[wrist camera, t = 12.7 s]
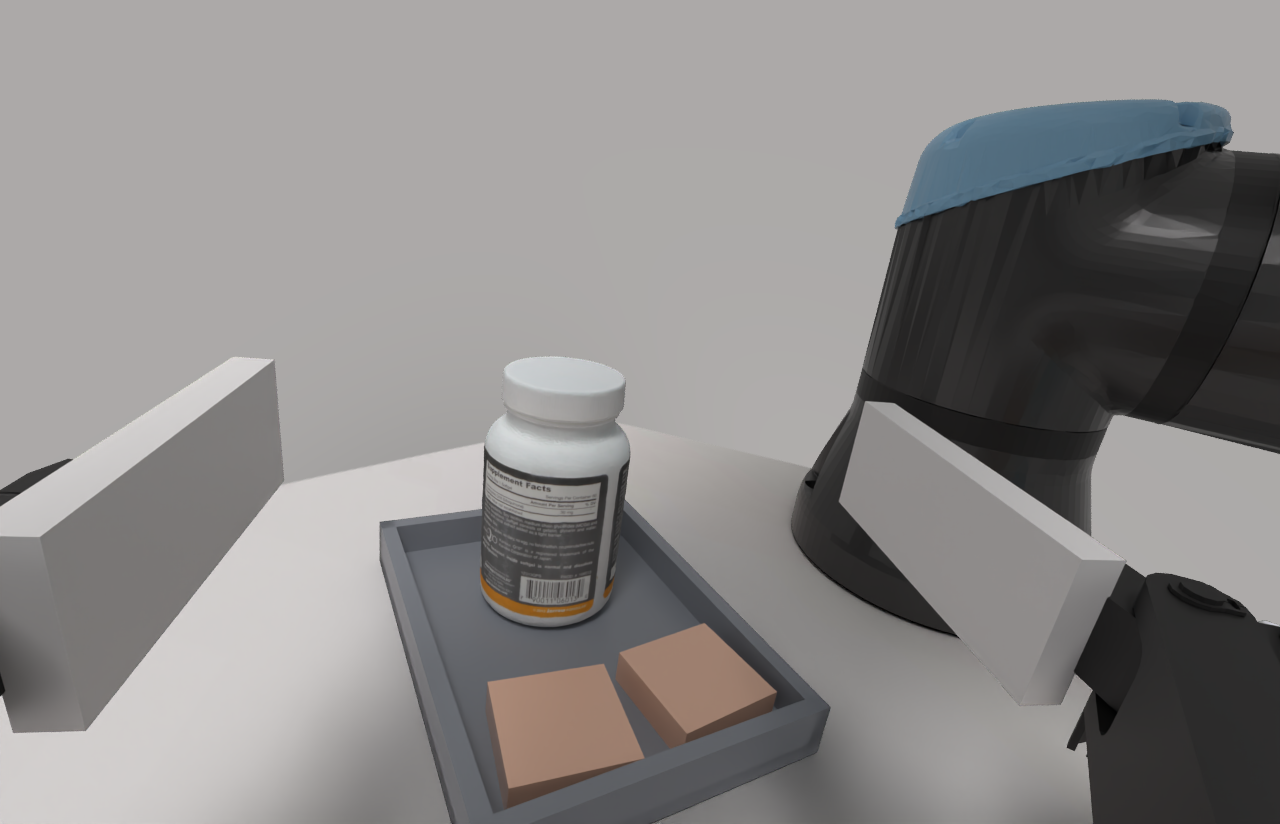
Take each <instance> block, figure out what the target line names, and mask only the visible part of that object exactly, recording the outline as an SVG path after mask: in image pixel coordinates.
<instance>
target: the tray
mask: <svg viewBox="0 0 1280 824" xmlns="http://www.w3.org/2000/svg"><path fill="white" fill-rule="evenodd" d="M481 526H482V509H479V510H471V511H463V512H455V513H448V514H440V515H432V516H424V517H416V518H408V519H400V520H392V521H384V522H380V563H381V567H382V571H383V574H384V578H385V582H386V585H387V589H388V593H389V596H390V600H391V604H392V607H393V611H394V615H395V618H396V622H397V626H398V629H399V633H400V637H401V640H402V644H403V647H404V651H405V655H406V658H407V662H408V666H409V669H410V673H411V677H412V680H413V684H414V688H415V691H416V695H417V699H418V702H419V706H420V710H421V713H422V717H423V721H424V724H425V728H426V732H427V735H428V739H429V743H430V746H431V750H432V754H433V757H434V761H435V765H436V768H437V772H438V776H439V779H440V783H441V786H442V790H443V794H444V797H445V801H446V805H447V808H448V812H449V816H450V819H451V823H452V824H651V823H653V822H655V821H658V820H660V819H662V818H665V817H667V816H669V815H672V814H674V813H676V812H679V811H681V810H683V809H686V808H688V807H690V806H693V805H695V804H697V803H700V802H702V801H704V800H707V799H709V798H711V797H714V796H716V795H718V794H721V793H723V792H725V791H728V790H730V789H732V788H735V787H737V786H739V785H742V784H744V783H746V782H749V781H751V780H753V779H756V778H758V777H760V776H763V775H765V774H767V773H770V772H772V771H774V770H777V769H779V768H781V767H784V766H786V765H788V764H791V763H793V762H795V761H798V760H800V759H802V758H805V757H807V756H809V755H812V754H814V753H816V752H817V751H818V748H819V744H820V741H821V738H822V734H823V731H824V728H825V724H826V721H827V717H828V714H829V711H830V706H829V705H828V704H827V703H826V702H825V701H824V700H823V699H822V698H821V697H820V696H819V695H818V694H817V693H816V692H815V691H814V690H813V689H812V688H811V687H810V686H809V685H808V684H807V683H806V682H805V681H804V680H803V679H802V678H801V677H800V676H799V675H798V674H797V673H796V672H795V671H794V670H793V669H792V668H791V667H790V666H789V665H788V664H787V663H786V662H785V661H784V660H783V659H782V658H781V657H780V656H779V655H778V654H777V653H776V652H775V651H774V650H773V649H772V648H771V647H770V646H769V645H768V644H767V643H766V642H765V640H764V639H763V638H762V637H761V636H760V635H759V634H758V633H757V632H756V631H755V630H754V629H753V628H752V627H751V626H750V625H749V624H748V623H747V622H746V621H745V620H744V619H743V618H742V617H741V616H740V615H739V614H738V613H737V612H736V611H735V610H734V609H733V608H732V607H731V606H730V605H729V604H728V603H727V602H726V601H725V600H724V599H723V598H722V597H721V596H720V595H719V594H718V593H717V592H716V591H715V590H714V589H713V588H712V587H711V586H710V585H709V584H708V583H707V582H706V581H705V580H704V579H703V578H702V577H701V576H700V575H699V574H698V573H697V572H696V571H695V570H694V569H693V568H692V567H691V566H690V565H689V564H688V563H687V562H686V561H685V560H684V559H683V558H682V557H681V556H680V555H679V554H678V553H677V552H676V551H675V550H674V549H673V548H672V547H671V546H670V545H669V544H668V543H667V542H666V541H665V540H664V539H663V538H662V537H661V535H660V534H659V533H658V532H657V531H656V530H655V529H654V528H653V527H652V526H651V525H650V524H649V523H648V522H647V521H646V520H645V519H644V518H643V517H642V516H641V515H640V514H639V513H638V512H637V511H636V510H635V509H634V508H633V507H632V506H631V505H630V504H629V503H628V502H627V501H626V500H624V507H623V515H622V523H621V531H620V538H619V546H618V554H617V561H616V571H615V576H614V582H613V588H612V592H611V595H610V597H609V600H608V601H607V602H606V603H605V605H604V606H603V607H602V609H601V610H599V611H598V612H597V613H595V614H594V615H592V616H591V617H589V618H587V619H585V620H583V621H580V622H577V623H573V624H569V625H565V626H558V627H538V626H530V625H525V624H522V623H518V622H515V621H513V620H510V619H508V618H506V617H504V616H502V615H501V614H499V613H498V612H497V611H495V610H494V609H493V608H492V607H491V606H490V604H489V603H488V602H487V601H486V599H485V598H484V596H483V594H482V591H481V585H480V557H481ZM703 623H705V624H706V625H707V626H708V627H709V628H710V629H712V630H713V631H714V632H715V633H716V634H717V635H718V636H719V637H720V638H721V639H722V640H723V641H724V642H725V643H726V644H727V645H728V646H729V647H730V648H731V649H733V650H734V651H735V652H736V653H737V654H738V655H739V656H740V657H741V658H742V659H743V660H744V661H745V662H746V663H747V664H748V665H749V666H750V667H751V668H752V669H754V670H755V671H756V672H757V673H758V674H759V675H760V676H761V677H762V678H763V679H764V680H765V681H766V682H767V683H768V684H769V685H770V686H771V687H772V688H774V689H775V690H776V691H777V694H776V698H775V702H774V706H773V709H772V712H769V713H767V714H764V715H761V716H758V717H756V718H753V719H750V720H748V721H745V722H742V723H739V724H737V725H734V726H731V727H728V728H726V729H723V730H720V731H718V732H715V733H712V734H709V735H707V736H704V737H701V738H699V739H696V740H693V741H690V742H688V743H685V744H682V745H680V746H677V747H674V748H671V749H670V748H669V747H668V746H667V744H666V743H665V742H664V741H663V739H662V738H661V737H660V735H659V734H658V733H657V732H656V730H655V729H654V728H653V727H652V725H651V724H650V723H649V721H648V720H647V719H646V718H645V716H644V715H643V714H642V713H641V711H640V710H639V709H638V707H637V706H636V705H635V704H634V702H633V701H632V700H631V699H630V697H629V696H628V695H627V693H626V692H625V691H624V690H623V688H622V687H621V686H620V684H619V683H618V682H617V681H616V679H615V678H616V671H617V665H618V658H619V652H622V651H625V650H628V649H631V648H634V647H637V646H640V645H642V644H645V643H648V642H651V641H654V640H657V639H660V638H663V637H666V636H668V635H671V634H674V633H677V632H680V631H683V630H686V629H689V628H691V627H694V626H697V625H700V624H703ZM599 664H604V665H605V668H606V670H607V672H608V675H609V677H610V679H611V681H612V684H613V686H614V688H615V691H616V693H617V695H618V698H619V700H620V702H621V704H622V707H623V709H624V711H625V714H626V716H627V718H628V721H629V723H630V725H631V728H632V730H633V732H634V734H635V737H636V739H637V741H638V744H639V746H640V748H641V751H642V753H643V755H644V759H641V760H639V761H636V762H633V763H631V764H628V765H625V766H622V767H620V768H617V769H614V770H612V771H609V772H606V773H603V774H601V775H598V776H595V777H592V778H590V779H587V780H584V781H582V782H579V783H576V784H573V785H571V786H568V787H565V788H563V789H560V790H557V791H554V792H552V793H549V794H546V795H544V796H541V797H538V798H535V799H533V800H530V801H527V802H524V803H522V804H519V805H516V806H514V807H511V808H508V809H505V810H504V808H503V803H502V797H501V792H500V787H499V781H498V776H497V770H496V765H495V760H494V754H493V749H492V743H491V738H490V733H489V727H488V722H487V717H486V711H485V710H486V695H487V682H490V681H497V680H503V679H509V678H516V677H522V676H529V675H535V674H541V673H548V672H554V671H560V670H567V669H573V668H580V667H586V666H592V665H599Z"/></svg>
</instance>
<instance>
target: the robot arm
mask: <svg viewBox="0 0 1280 824" xmlns="http://www.w3.org/2000/svg"><path fill="white" fill-rule="evenodd" d="M1230 122H1231V116H1230V115H1229V112H1228V111H1227V110H1226V109H1224V108H1222V107H1220V106H1217V105H1213V104H1209V103H1203V102H1181V103H1174V102H1173V101H1168V100H1113V101H1112V100H1111V101H1095V102H1080V103H1079V102H1078V103H1067V104H1057V105H1047V106H1038V107H1030V108H1022V109H1016V110H1010V111H1004V112H998V113H994V114H989V115H985V116H980V117H976V118H973V119H969V120H966V121H963V122H961V123H958V124H955V125H954V126H952V127H949V128H948V129H946V130H944V131H943V132H942V133H940V134H939V135H938V136H936V137H935V138H934V139H933V140H932V141H931V142H930V143H929V144H928V146H927V147H926V148H925V150H924V151H923V153H922V155H921V157H920V160H919V162H918V165H917V168H916V172H915V175H914V178H913V181H912V184H911V187H910V190H909V193H908V196H907V199H906V203H905V205H904V209H903V212H902V215H900V216H899V217H898V218H897V220H896V223H895V229H898V231H897V235H896V238H895V242H894V246H893V250H892V254H891V258H890V262H889V266H888V270H887V274H886V278H885V282H884V286H883V289H882V293H881V297H880V301H879V305H878V309H877V313H876V317H875V321H874V325H873V329H872V333H871V337H870V341H869V344H868V348H867V353H866V356H865V360H864V364H863V368H862V372H861V376H860V380H859V383H858V387H857V391H856V394H855V398H854V401H853V403H852V406H851V408H850V409H849V411H848V412H847V414H846V415H845V417H844V418H843V420H842V421H841V423H840V425H839V426H838V427H837V429H836V430H835V432H834V434H833V435H832V437H831V438H830V440H829V441H828V443H827V444H826V446H825V447H824V449H823V450H822V452H821V454H820V455H819V457H818V458H817V460H816V462H815V464H814V466H813V467H812V469H811V470H810V471H809V472H808V473H807V475H806V476H805V478H804V479H803V481H802V483H801V485H800V488H799V491H798V495H797V499H796V503H795V507H794V511H793V515H792V521H791V522H792V530H793V533H794V536H795V538H796V540H797V542H798V544H799V545H800V547H801V548H802V550H803V551H804V552H805V553H806V555H807V556H808V557H809V558H810V559H811V560H812V561H813V562H814V563H815V564H816V565H817V566H818V567H819V568H820V569H821V570H823V571H824V572H825V573H826V574H827V575H829V576H830V577H831V578H833V579H834V580H835V581H837V582H838V583H840V584H841V585H843V586H844V587H845V588H847V589H849V590H850V591H852V592H853V593H855V594H857V595H859V596H860V597H862V598H864V599H866V600H867V601H869V602H871V603H873V604H875V605H877V606H879V607H881V608H883V609H885V610H888V611H890V612H892V613H894V614H897V615H899V616H901V617H904V618H906V619H909V620H912V621H914V622H917V623H920V624H923V625H925V626H928V627H932V628H935V629H938V630H941V631H945V632H949V633H952V634H957V636H958V637H959V638H960V639H961V640H962V641H963V642H964V644H965V645H966V646H967V647H968V648H969V649H970V650H971V651H972V653H973V654H974V655H975V656H976V657H977V658H978V659H979V660H980V662H981V663H982V664H983V665H984V666H985V667H986V668H987V669H988V671H989V672H990V673H991V674H992V675H993V676H994V677H995V678H996V680H997V681H998V682H999V683H1000V684H1001V685H1002V686H1003V688H1004V689H1005V690H1006V691H1007V692H1008V693H1009V694H1010V695H1011V697H1012V698H1013V699H1014V700H1015V701H1016V702H1017V703H1018V704H1019V706H1027V705H1061V703H1062V701H1063V699H1064V696H1065V694H1066V692H1067V690H1068V688H1069V685H1070V683H1071V681H1072V679H1073V677H1074V674H1075V673H1076V674H1077V675H1078V676H1079V677H1080V678H1081V679H1082V680H1083V681H1084V682H1085V683H1086V684H1087V685H1088V686H1089V687H1090V688H1091V689H1092V690H1093V691H1092V693H1091V695H1090V697H1089V699H1088V701H1087V703H1086V706H1085V708H1084V710H1083V712H1082V714H1081V716H1080V718H1079V720H1078V722H1077V725H1076V727H1075V729H1074V731H1073V733H1072V735H1071V737H1070V739H1069V742H1068V745H1067V748H1069V749H1071V750H1073V751H1075V749H1076V747H1077V745H1078V743H1082V742H1086V743H1087V755H1086V757H1088V767H1089V779H1090V791H1091V803H1092V815H1093V824H1280V627H1279V626H1274V625H1269V624H1265V623H1260V622H1257V621H1256V619H1255V617H1254V616H1253V615H1252V614H1251V613H1250V612H1249V611H1248V609H1247V608H1246V607H1244V606H1243V605H1242V604H1241V603H1240V602H1239V601H1237V600H1235V599H1233V598H1231V597H1230V596H1228V595H1226V594H1224V593H1222V592H1220V591H1219V590H1217V589H1216V588H1214V587H1212V586H1210V585H1207V584H1205V583H1203V582H1200V581H1196V580H1192V579H1188V578H1185V577H1180V576H1177V575H1173V574H1164V573H1154V574H1150V575H1147V577H1144V576H1143V575H1141V574H1139V573H1138V572H1137V571H1135V570H1134V569H1132V568H1131V567H1130V566H1128V565H1127V564H1125V563H1126V560H1125V559H1123V558H1122V557H1120V556H1119V555H1117V554H1116V553H1114V552H1113V551H1111V550H1110V549H1109V548H1107V547H1105V546H1104V545H1103V544H1101V543H1100V542H1098V541H1097V540H1095V539H1094V538H1092V537H1091V471H1092V466H1093V463H1094V460H1095V457H1096V455H1097V452H1098V450H1099V447H1100V445H1101V442H1102V440H1103V438H1104V435H1105V432H1106V430H1107V428H1108V425H1109V424H1110V421H1111V419H1112V417H1113V416H1114V415H1125V416H1128V417H1133V418H1137V419H1141V420H1145V421H1150V422H1154V423H1157V424H1163V425H1167V426H1171V427H1175V428H1180V429H1183V430H1187V431H1191V432H1195V433H1199V434H1203V435H1207V436H1211V437H1215V438H1219V439H1223V440H1227V441H1231V442H1235V443H1239V444H1243V445H1247V446H1251V447H1255V448H1259V449H1263V450H1267V451H1271V452H1275V453H1278V454H1280V154H1268V153H1255V152H1242V151H1230V150H1226V149H1224V148H1223V146H1225V145H1227V144H1228V143H1230V140H1231V138H1232V135H1233V133H1234V132H1233V131H1232V129H1231V124H1230ZM278 411H279V410H278V398H277V386H276V373H275V361H274V360H271V359H257V358H243V357H232V358H230V359H229V360H227V361H226V362H224V363H223V364H221V365H220V366H218V367H217V368H215V369H213V370H212V371H210V372H209V373H207V374H206V375H204V376H203V377H201V378H200V379H198V380H196V381H195V382H193V383H192V384H190V385H189V386H187V387H185V388H184V389H182V390H181V391H179V392H178V393H176V394H175V395H173V396H171V397H170V398H168V399H167V400H165V401H164V402H162V403H161V404H159V405H158V406H156V407H154V408H153V409H151V410H150V411H148V412H147V413H145V414H143V415H142V416H140V417H139V418H137V419H136V420H134V421H133V422H131V423H130V424H128V425H126V426H125V427H123V428H122V429H120V430H119V431H117V432H116V433H114V434H112V435H111V436H109V437H108V438H106V439H105V440H103V441H102V442H100V443H98V444H97V445H95V446H94V447H92V448H91V449H89V450H88V451H86V452H84V453H83V454H81V455H80V456H78V457H77V458H75V459H66V460H63V461H61V462H58V463H55V464H52V465H50V466H47V467H44V468H41V469H39V470H36V471H33V472H30V473H28V474H26V475H24V476H23V477H21V478H19V479H18V480H16V481H15V482H13V483H11V484H10V485H8V486H6V487H5V488H3V489H1V490H0V696H1V695H2V696H3V699H4V703H5V706H6V710H7V713H8V717H9V720H10V724H11V727H12V730H13V733H26V732H64V731H86V730H87V729H88V728H89V726H90V725H91V724H92V722H93V721H94V720H95V719H96V717H97V716H98V715H99V714H100V712H101V711H102V710H103V709H104V707H105V706H106V705H107V704H108V702H109V701H110V700H111V698H112V697H113V696H114V695H115V693H116V692H117V691H118V690H119V688H120V687H121V686H122V685H123V683H124V682H125V681H126V680H127V678H128V677H129V676H130V675H131V673H132V672H133V671H134V669H135V668H136V667H137V666H138V664H139V663H140V662H141V661H142V659H143V658H144V657H145V656H146V654H147V653H148V652H149V651H150V649H151V648H152V647H153V645H154V644H155V643H156V642H157V640H158V639H159V638H160V637H161V635H162V634H163V633H164V632H165V630H166V629H167V628H168V627H169V625H170V624H171V623H172V621H173V620H174V619H175V618H176V616H177V615H178V614H179V613H180V611H181V610H182V609H183V608H184V606H185V605H186V604H187V603H188V601H189V600H190V599H191V598H192V596H193V595H194V594H195V592H196V591H197V590H198V589H199V587H200V586H201V585H202V584H203V582H204V581H205V580H206V579H207V577H208V576H209V575H210V574H211V572H212V571H213V570H214V568H215V567H216V566H217V565H218V563H219V562H220V561H221V560H222V558H223V557H224V556H225V555H226V553H227V552H228V551H229V550H230V548H231V547H232V546H233V544H234V543H235V542H236V541H237V539H238V538H239V537H240V536H241V534H242V533H243V532H244V531H245V529H246V528H247V527H248V526H249V524H250V523H251V522H252V521H253V519H254V518H255V517H256V515H257V514H258V513H259V512H260V510H261V509H262V508H263V507H264V505H265V504H266V503H267V502H268V500H269V499H270V498H271V497H272V495H273V494H274V493H275V491H276V490H277V489H278V488H279V486H280V485H281V484H282V483H283V481H284V473H283V461H282V449H281V435H280V424H279V412H278Z"/></svg>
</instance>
